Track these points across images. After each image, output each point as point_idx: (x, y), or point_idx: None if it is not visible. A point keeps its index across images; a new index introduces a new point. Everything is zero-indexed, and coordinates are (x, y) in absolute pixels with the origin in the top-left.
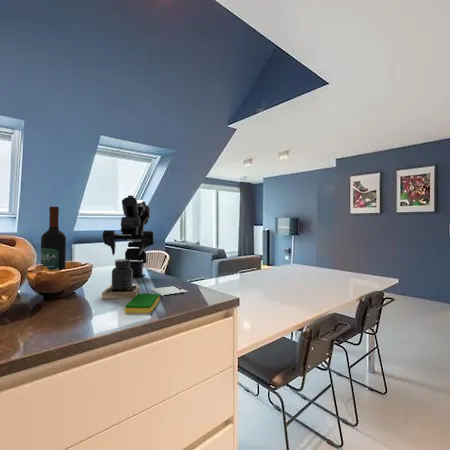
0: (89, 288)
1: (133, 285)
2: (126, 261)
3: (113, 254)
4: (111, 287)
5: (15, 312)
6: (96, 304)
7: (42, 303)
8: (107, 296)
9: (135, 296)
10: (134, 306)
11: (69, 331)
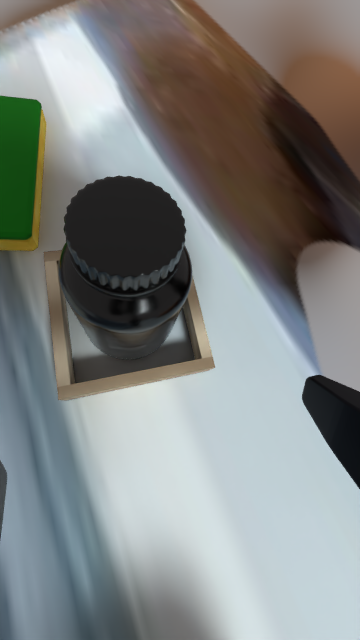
0: None
1: (93, 387)
2: (80, 192)
3: (305, 385)
4: (198, 359)
5: (320, 143)
6: None
7: (321, 206)
8: None
9: (30, 195)
10: (7, 97)
11: (131, 36)
